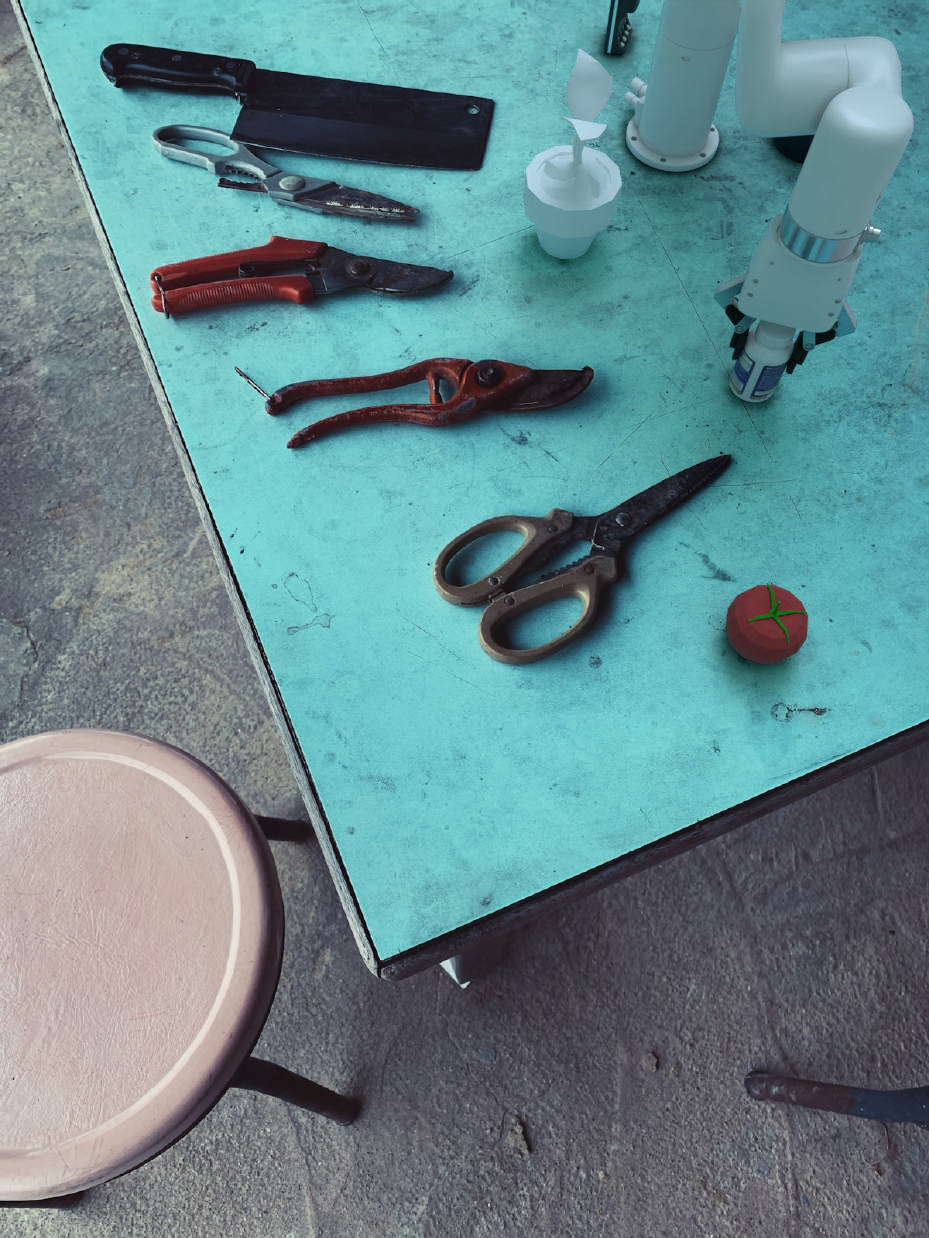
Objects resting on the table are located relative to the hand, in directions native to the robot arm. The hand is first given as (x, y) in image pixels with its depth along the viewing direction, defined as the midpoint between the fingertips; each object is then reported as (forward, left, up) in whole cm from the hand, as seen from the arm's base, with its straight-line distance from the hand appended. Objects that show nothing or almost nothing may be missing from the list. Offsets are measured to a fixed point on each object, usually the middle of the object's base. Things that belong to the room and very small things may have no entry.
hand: (763, 357), depth 104 cm
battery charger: (-56, +34, -5) cm, 65 cm away
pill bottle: (0, 0, -5) cm, 5 cm away
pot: (-24, +39, -5) cm, 46 cm away
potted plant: (-31, -1, -5) cm, 31 cm away
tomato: (+22, -24, -5) cm, 33 cm away
